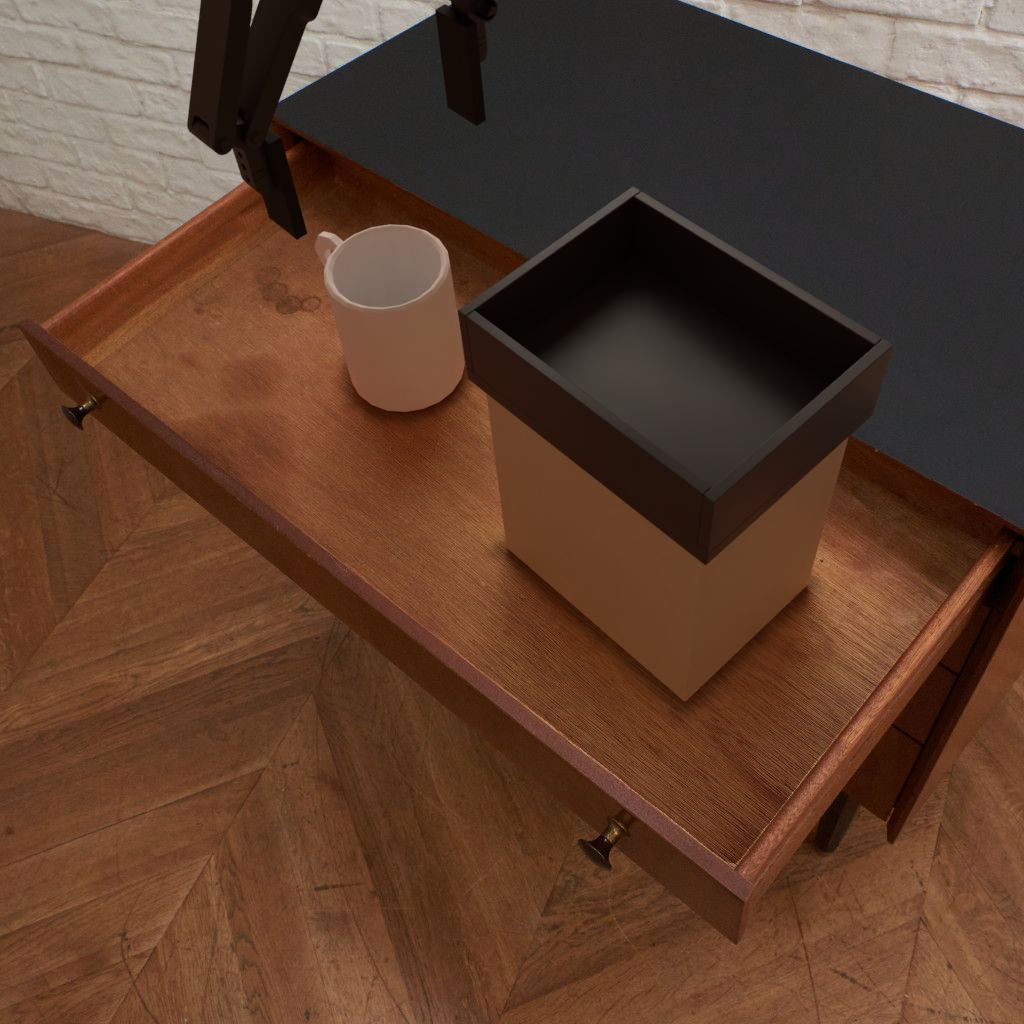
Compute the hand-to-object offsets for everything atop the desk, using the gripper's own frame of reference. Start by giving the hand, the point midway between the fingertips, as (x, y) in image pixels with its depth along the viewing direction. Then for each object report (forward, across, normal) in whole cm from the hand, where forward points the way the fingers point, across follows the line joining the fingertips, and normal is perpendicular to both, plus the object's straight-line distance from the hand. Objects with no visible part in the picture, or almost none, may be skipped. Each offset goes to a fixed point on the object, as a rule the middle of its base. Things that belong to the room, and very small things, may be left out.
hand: (380, 168), depth 68 cm
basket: (+1, +1, +24) cm, 24 cm away
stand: (+17, +1, +24) cm, 29 cm away
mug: (+17, +1, -2) cm, 17 cm away
